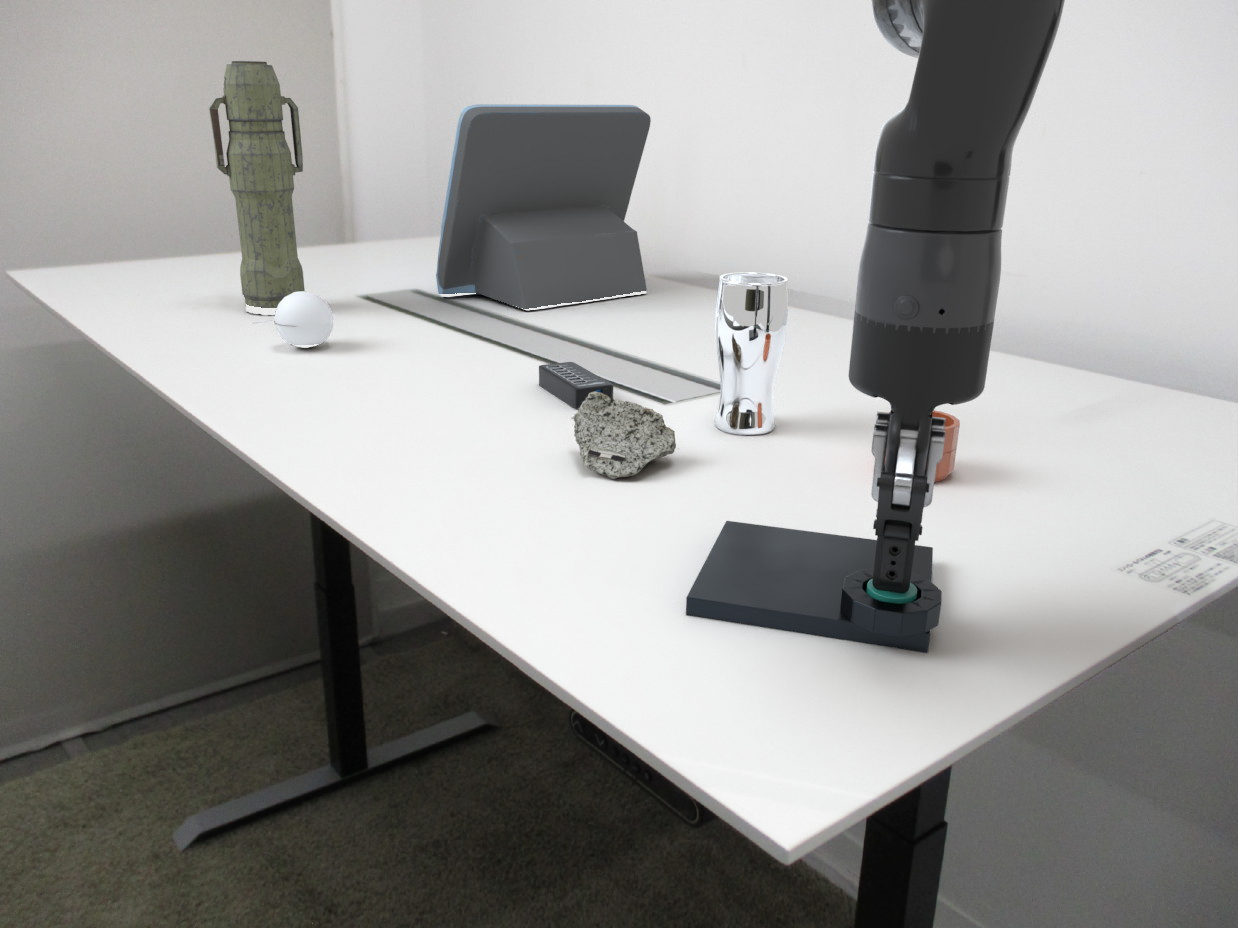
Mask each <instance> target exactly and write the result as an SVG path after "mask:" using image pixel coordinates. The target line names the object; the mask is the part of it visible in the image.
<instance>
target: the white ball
mask: <svg viewBox="0 0 1238 928" xmlns="http://www.w3.org/2000/svg"><path fill="white" fill-rule="evenodd" d="M334 320H335V319H334V315H333V310H332V308H331V307H330V305H329V303H328V301H326V300H325V299H324V298H323V297H322V296H320V295H319V294H316V293H314V292H311V291H306V290H305V291H299V292H293V293H291V294H290V295H288V296H286V297H284V298H283V299H282V301H281V302H280V303H279V304H278V306H277V309H276V311H275V316H274V321H273V320H265V321H257V322H252V325H253V324H260V323H268V322H272V321H273V323H274V325H275V330H276V332H277V333H278V335H279V336H280V338H281V339H282V340H283V341H284V342H286V343H287V344H288V345H290V344H294V345H314V344H320V343H322V344H324V343H325V341H326V340H328V338H329V337H330V336H331V333H332V331H333V329H334ZM320 345H321V344H320Z"/></svg>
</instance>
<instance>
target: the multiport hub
mask: <svg viewBox="0 0 1238 928" xmlns="http://www.w3.org/2000/svg"><path fill="white" fill-rule="evenodd" d="M538 386H540V387H541V388H543V389H544V390H546V391H547V392H549V393H550V394H551V395H553V396H554V397H556V398H558V400H559V399H560V400H561V401H562V402H564V403H565V404H567V405H569V406H570V407H571V408H573V409H574V410H577V409H578V408H579V407H581V405H582V402H583V401H585V400H586V399H585V398H586V397H588V394H589V393H591V392H596V391H597V392H600V393H602V394H605V395H608V396H609V398H611V399H613V400H614V384H613V383H611V382H610V381H608V380H606V379H604V378H603V377H600V376H599V375H597V374H595V373H594V372H592V371H590V370H588V369H587V368H585V367H583V366H581V365H580V364H578V363H576V362H573V361H565V362H556V363H546V364H540V365H538ZM612 393H613V394H612ZM611 396H612V397H611Z"/></svg>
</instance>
